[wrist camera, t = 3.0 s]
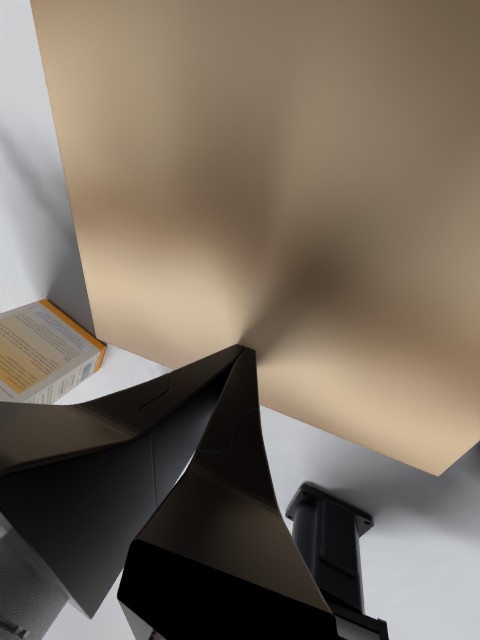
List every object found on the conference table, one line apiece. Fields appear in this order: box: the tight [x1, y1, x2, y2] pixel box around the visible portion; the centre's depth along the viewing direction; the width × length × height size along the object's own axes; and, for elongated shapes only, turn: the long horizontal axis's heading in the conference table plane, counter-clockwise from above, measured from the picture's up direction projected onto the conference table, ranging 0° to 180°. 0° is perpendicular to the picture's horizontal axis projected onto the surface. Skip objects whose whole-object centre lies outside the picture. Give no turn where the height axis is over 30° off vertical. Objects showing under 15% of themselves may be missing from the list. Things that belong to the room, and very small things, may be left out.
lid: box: [30, 0, 480, 477], centre depth 8 cm, size 12×17×1 cm
